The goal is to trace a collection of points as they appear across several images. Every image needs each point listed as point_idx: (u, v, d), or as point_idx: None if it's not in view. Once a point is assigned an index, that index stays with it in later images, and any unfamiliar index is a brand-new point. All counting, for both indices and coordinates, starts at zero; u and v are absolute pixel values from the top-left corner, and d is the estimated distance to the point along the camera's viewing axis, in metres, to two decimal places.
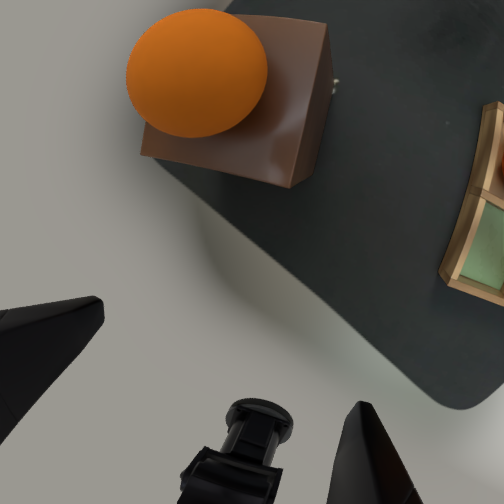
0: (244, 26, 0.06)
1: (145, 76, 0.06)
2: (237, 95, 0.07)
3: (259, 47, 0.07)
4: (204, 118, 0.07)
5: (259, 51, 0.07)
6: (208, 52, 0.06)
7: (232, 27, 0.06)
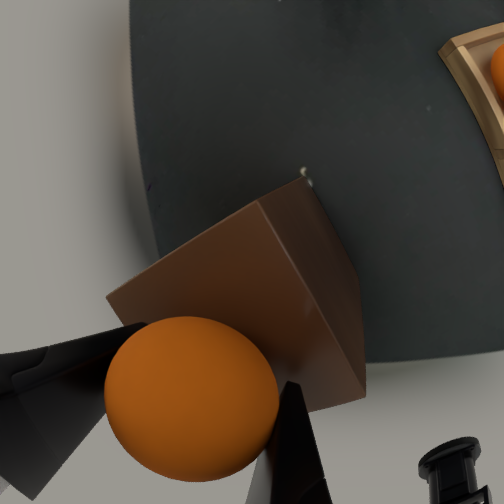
0: (185, 363, 0.05)
1: None
2: (259, 440, 0.05)
3: (226, 369, 0.05)
4: (248, 464, 0.05)
5: (232, 377, 0.05)
6: (191, 450, 0.04)
7: (178, 393, 0.05)
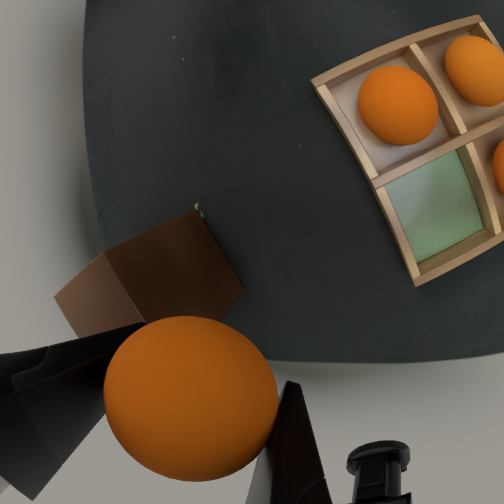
0: (184, 363, 0.05)
1: (160, 474, 0.05)
2: (258, 439, 0.05)
3: (225, 369, 0.05)
4: (247, 464, 0.05)
5: (231, 376, 0.05)
6: (190, 449, 0.04)
7: (177, 392, 0.05)
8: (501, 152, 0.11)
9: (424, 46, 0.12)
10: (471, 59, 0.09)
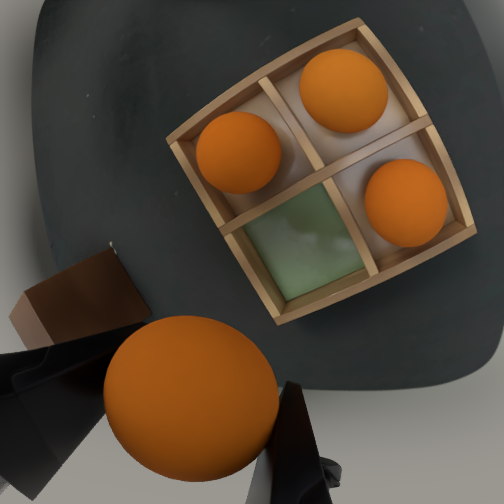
0: (185, 362, 0.05)
1: (161, 474, 0.05)
2: (259, 439, 0.05)
3: (226, 369, 0.05)
4: (248, 464, 0.05)
5: (231, 376, 0.05)
6: (191, 450, 0.04)
7: (178, 392, 0.05)
8: (368, 185, 0.13)
9: (292, 72, 0.15)
10: (313, 84, 0.11)
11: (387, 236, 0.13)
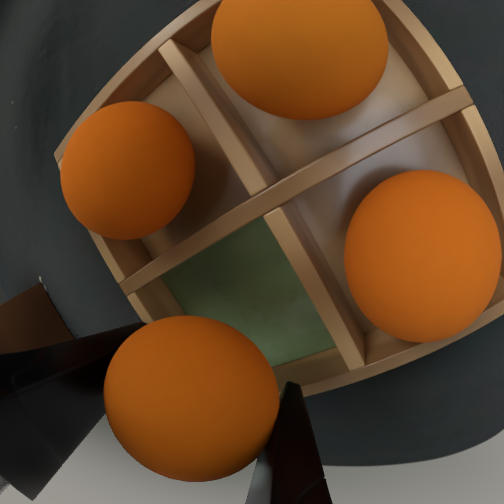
0: (185, 362, 0.05)
1: (161, 474, 0.05)
2: (259, 439, 0.05)
3: (226, 368, 0.05)
4: (248, 464, 0.05)
5: (232, 376, 0.05)
6: (191, 450, 0.04)
7: (178, 392, 0.05)
8: (351, 225, 0.07)
9: None
10: (223, 25, 0.05)
11: (382, 328, 0.06)
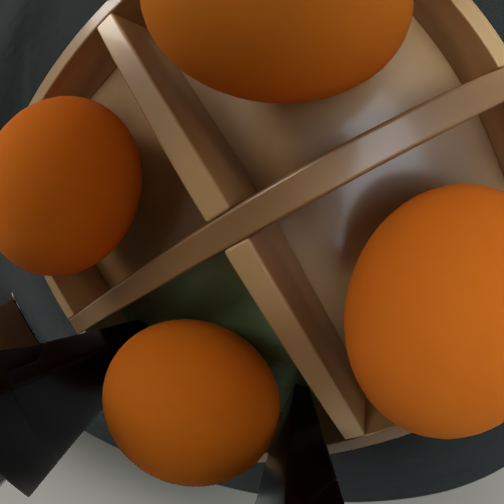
0: (185, 366, 0.05)
1: (160, 479, 0.05)
2: (260, 443, 0.05)
3: (227, 372, 0.05)
4: (248, 468, 0.05)
5: (232, 379, 0.05)
6: (192, 454, 0.04)
7: (178, 396, 0.05)
8: (358, 275, 0.04)
9: None
10: None
11: (392, 421, 0.04)
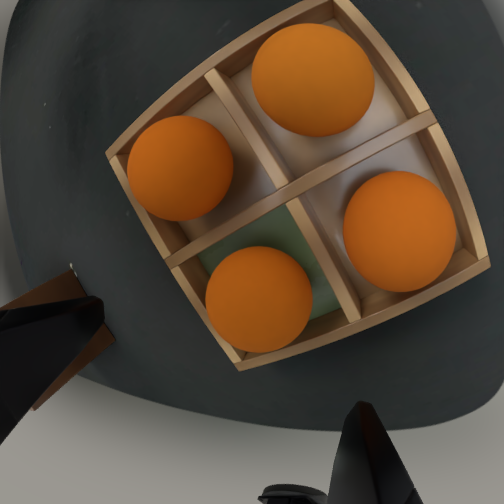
0: (269, 259, 0.11)
1: (248, 341, 0.11)
2: (306, 307, 0.11)
3: (289, 264, 0.11)
4: (298, 332, 0.11)
5: (292, 267, 0.11)
6: (275, 306, 0.10)
7: (268, 272, 0.11)
8: (347, 209, 0.10)
9: (252, 62, 0.11)
10: (264, 71, 0.08)
11: (371, 280, 0.10)
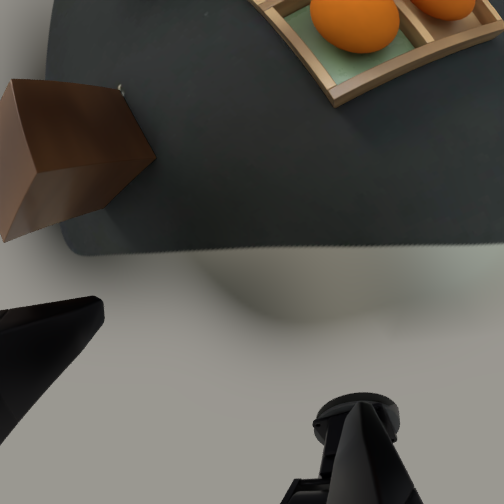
0: None
1: (365, 5, 0.08)
2: None
3: None
4: (397, 22, 0.09)
5: None
6: None
7: None
8: None
9: None
10: None
11: None
